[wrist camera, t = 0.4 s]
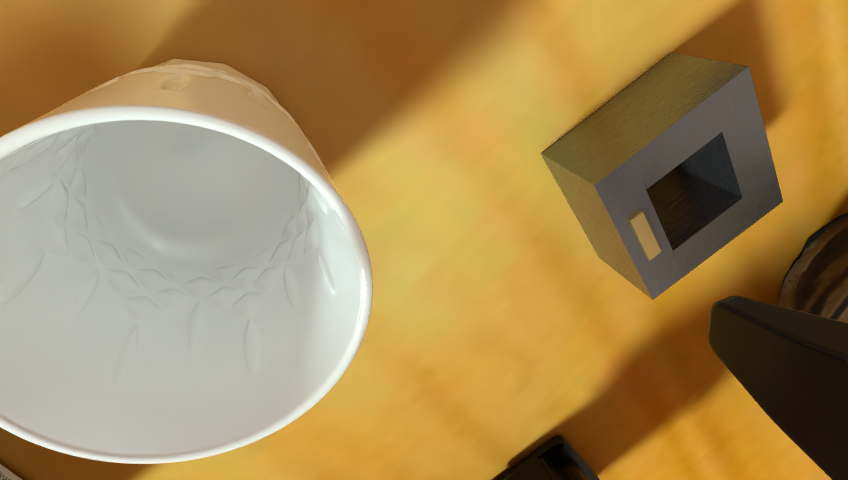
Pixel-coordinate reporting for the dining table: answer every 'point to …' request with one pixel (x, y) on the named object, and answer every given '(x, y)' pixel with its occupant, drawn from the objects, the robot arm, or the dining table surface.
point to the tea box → (7, 474)
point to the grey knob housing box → (669, 169)
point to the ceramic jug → (821, 274)
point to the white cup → (171, 269)
